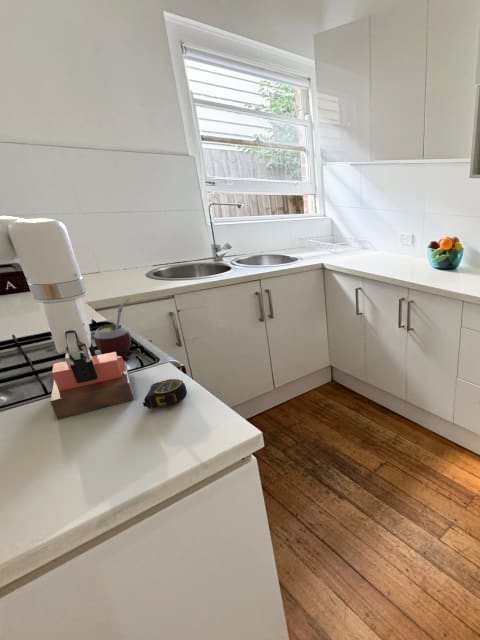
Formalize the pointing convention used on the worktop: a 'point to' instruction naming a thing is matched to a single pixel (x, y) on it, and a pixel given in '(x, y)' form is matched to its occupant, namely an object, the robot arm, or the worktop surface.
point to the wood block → (91, 396)
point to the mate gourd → (114, 338)
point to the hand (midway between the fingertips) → (87, 371)
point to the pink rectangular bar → (104, 365)
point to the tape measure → (165, 394)
